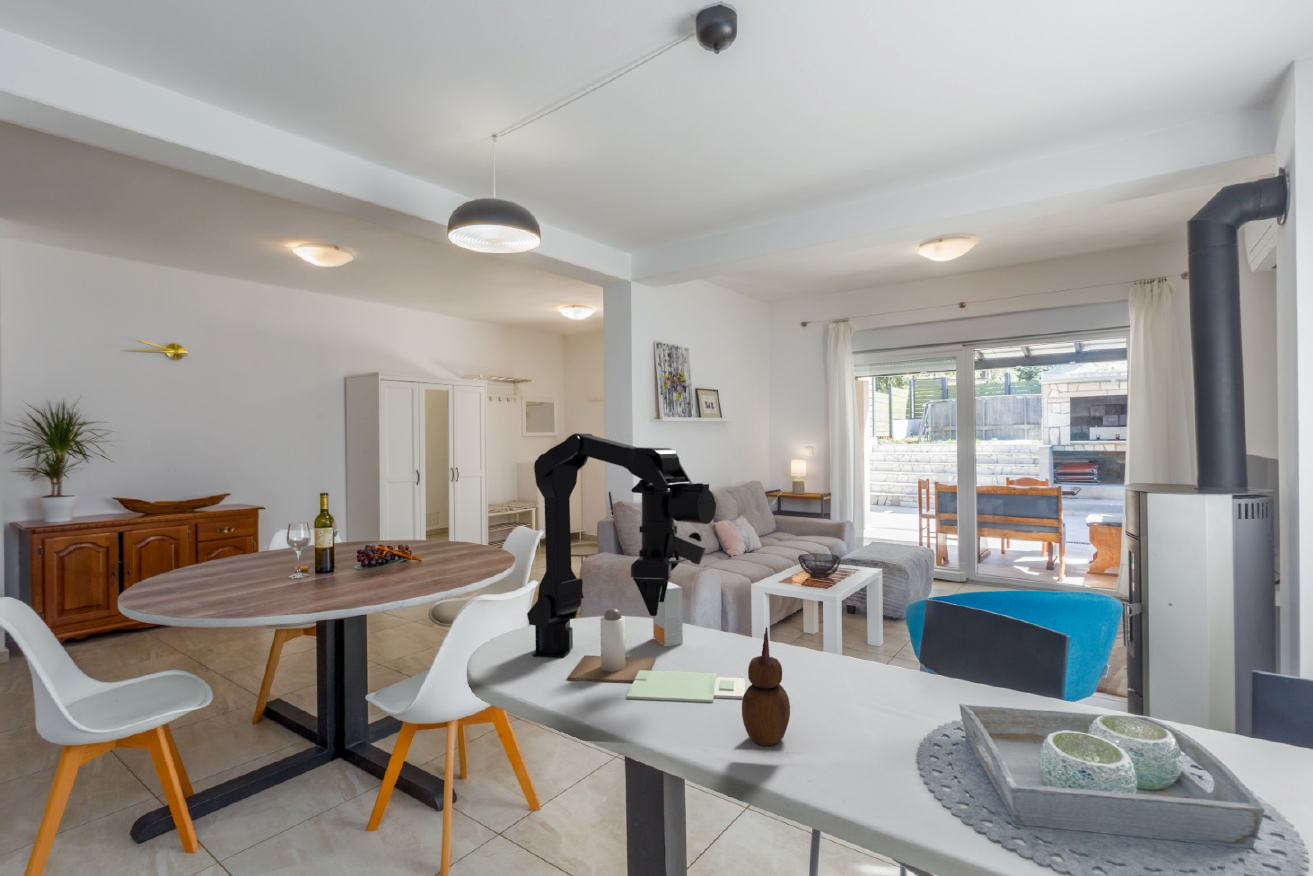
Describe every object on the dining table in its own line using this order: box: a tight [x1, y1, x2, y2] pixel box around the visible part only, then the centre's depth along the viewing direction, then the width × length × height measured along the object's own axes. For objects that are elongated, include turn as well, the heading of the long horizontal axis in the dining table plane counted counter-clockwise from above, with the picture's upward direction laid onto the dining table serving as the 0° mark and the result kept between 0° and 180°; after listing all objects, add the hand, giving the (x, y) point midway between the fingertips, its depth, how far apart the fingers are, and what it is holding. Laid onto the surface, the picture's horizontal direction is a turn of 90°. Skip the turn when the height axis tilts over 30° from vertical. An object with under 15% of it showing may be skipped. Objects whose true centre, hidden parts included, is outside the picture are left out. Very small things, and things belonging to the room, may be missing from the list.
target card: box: [709, 676, 746, 700], centre depth 106 cm, size 6×8×1 cm
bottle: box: [600, 607, 626, 672], centre depth 116 cm, size 4×4×11 cm
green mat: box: [626, 670, 718, 703], centre depth 107 cm, size 14×12×1 cm
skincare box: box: [652, 581, 684, 647], centre depth 132 cm, size 6×4×12 cm
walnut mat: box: [566, 654, 657, 684], centre depth 116 cm, size 14×12×1 cm
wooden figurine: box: [741, 626, 791, 746], centre depth 88 cm, size 7×6×15 cm
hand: (657, 608), depth 111 cm, fingers open, 9 cm apart
